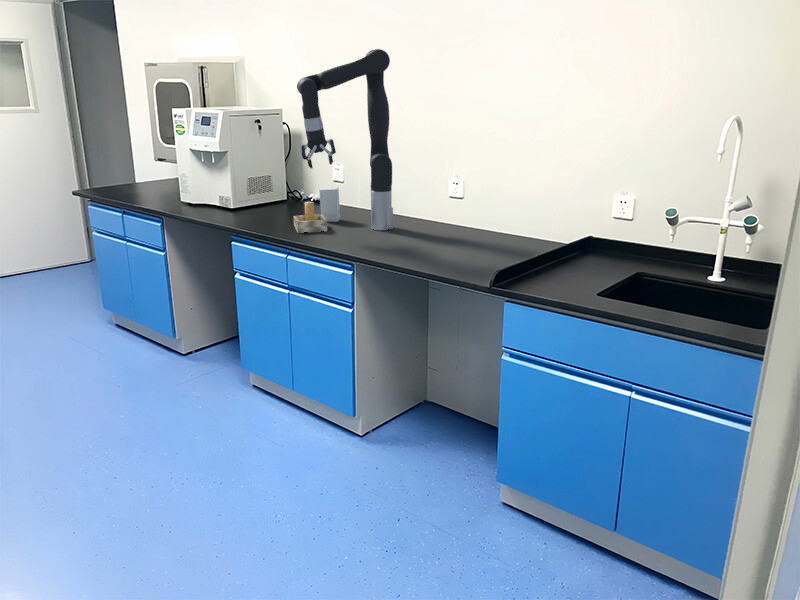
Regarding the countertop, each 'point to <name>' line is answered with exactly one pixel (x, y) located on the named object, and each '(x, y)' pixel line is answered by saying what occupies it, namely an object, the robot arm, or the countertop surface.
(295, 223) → the box
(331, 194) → the skincare box
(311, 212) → the peg
